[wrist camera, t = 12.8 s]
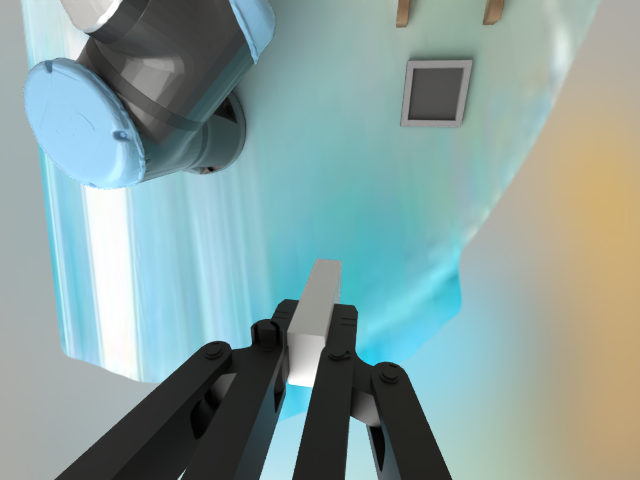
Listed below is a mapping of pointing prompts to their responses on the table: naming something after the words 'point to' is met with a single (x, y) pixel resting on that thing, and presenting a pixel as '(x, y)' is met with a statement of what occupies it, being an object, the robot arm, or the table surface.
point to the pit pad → (435, 93)
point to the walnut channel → (490, 16)
